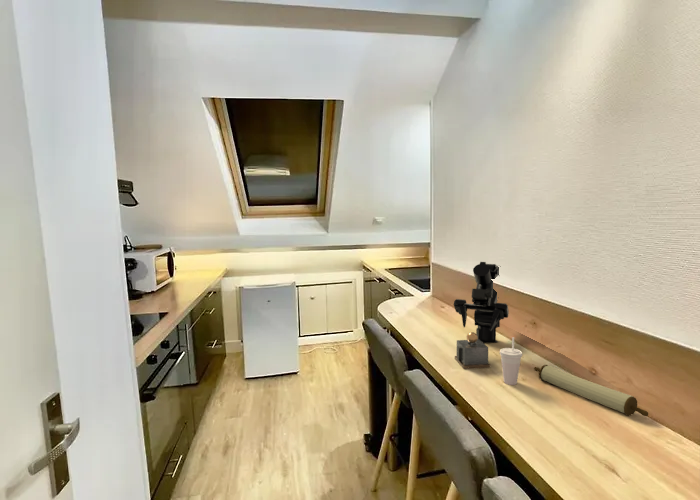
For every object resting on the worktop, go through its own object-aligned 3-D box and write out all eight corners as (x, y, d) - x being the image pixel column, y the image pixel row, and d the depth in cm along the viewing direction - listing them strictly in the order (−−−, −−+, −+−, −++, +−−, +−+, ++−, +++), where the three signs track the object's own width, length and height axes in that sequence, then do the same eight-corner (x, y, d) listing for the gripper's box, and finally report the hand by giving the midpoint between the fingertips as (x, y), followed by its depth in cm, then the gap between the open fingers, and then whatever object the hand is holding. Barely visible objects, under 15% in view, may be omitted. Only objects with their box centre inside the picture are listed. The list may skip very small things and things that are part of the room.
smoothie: (523, 387, 119) (525, 341, 117) (500, 386, 120) (501, 340, 118) (519, 378, 125) (520, 334, 123) (497, 377, 126) (498, 333, 125)
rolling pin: (528, 377, 126) (528, 362, 125) (540, 373, 129) (540, 358, 128) (641, 426, 98) (642, 406, 97) (653, 420, 100) (655, 400, 100)
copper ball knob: (477, 355, 141) (477, 329, 140) (483, 361, 135) (483, 334, 134) (460, 356, 140) (460, 330, 139) (466, 362, 135) (466, 335, 134)
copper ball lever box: (479, 357, 143) (480, 338, 142) (490, 367, 134) (490, 347, 133) (453, 358, 142) (453, 339, 141) (462, 368, 133) (462, 348, 132)
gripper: (455, 277, 151) (446, 313, 143) (508, 281, 142) (502, 320, 134) (460, 294, 159) (452, 329, 150) (510, 298, 150) (505, 336, 141)
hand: (477, 328), depth 144 cm, fingers open, 9 cm apart
